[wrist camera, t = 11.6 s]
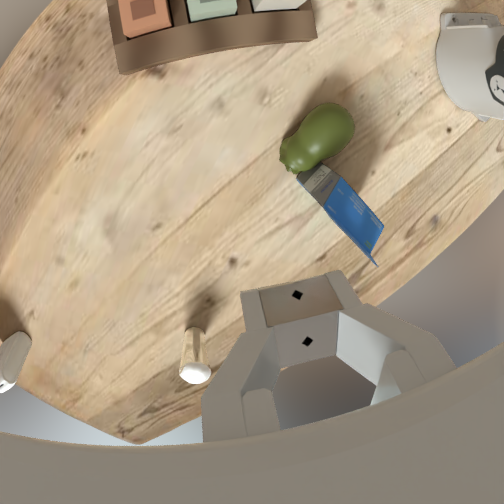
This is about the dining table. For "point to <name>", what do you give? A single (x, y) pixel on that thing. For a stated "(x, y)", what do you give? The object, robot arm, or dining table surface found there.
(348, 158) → the dining table surface
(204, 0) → the key sage
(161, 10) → the key rust
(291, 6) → the key ivory
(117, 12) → the keypad base
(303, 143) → the pear
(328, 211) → the label tape cartridge
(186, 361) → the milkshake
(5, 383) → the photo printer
